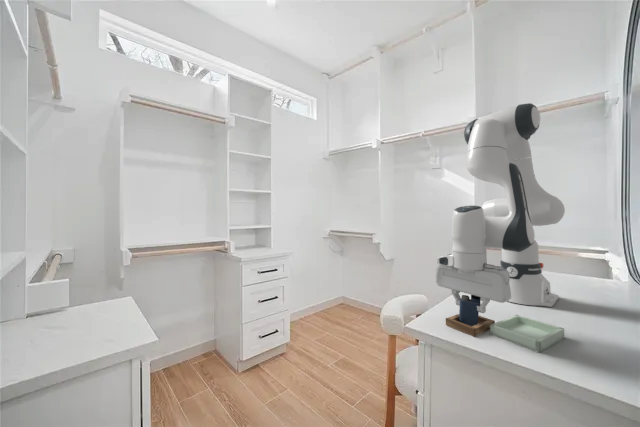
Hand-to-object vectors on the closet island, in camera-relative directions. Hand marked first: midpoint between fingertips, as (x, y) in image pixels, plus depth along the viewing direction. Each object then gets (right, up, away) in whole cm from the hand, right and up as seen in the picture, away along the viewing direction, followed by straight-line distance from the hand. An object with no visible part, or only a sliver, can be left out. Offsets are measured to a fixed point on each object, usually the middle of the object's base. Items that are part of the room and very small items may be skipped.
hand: (470, 308), depth 74 cm
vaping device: (0, -5, 0) cm, 5 cm away
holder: (0, -5, 0) cm, 5 cm away
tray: (+11, -5, -6) cm, 14 cm away
